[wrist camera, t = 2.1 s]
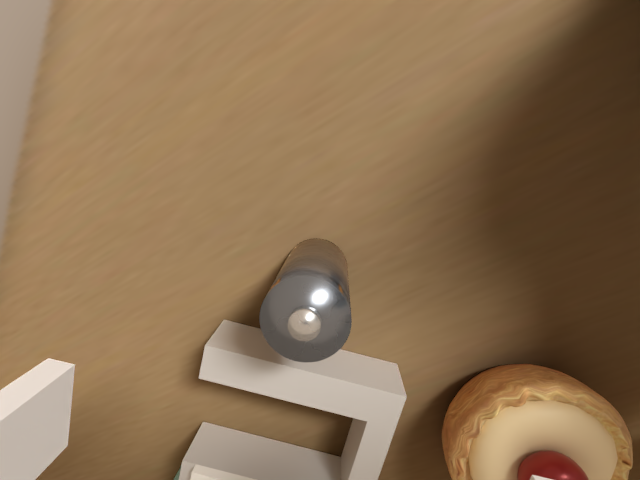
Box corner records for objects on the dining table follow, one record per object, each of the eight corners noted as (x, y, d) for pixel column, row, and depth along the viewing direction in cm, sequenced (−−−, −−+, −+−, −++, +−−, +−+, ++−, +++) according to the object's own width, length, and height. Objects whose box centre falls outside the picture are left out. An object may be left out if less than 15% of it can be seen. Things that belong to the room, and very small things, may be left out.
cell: (293, 231, 26) (267, 269, 16) (354, 247, 26) (363, 294, 16) (279, 288, 27) (248, 356, 17) (338, 304, 27) (338, 379, 17)
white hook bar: (223, 319, 28) (198, 353, 23) (397, 363, 28) (409, 407, 23) (197, 446, 30) (170, 502, 25) (355, 487, 30) (359, 551, 25)
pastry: (487, 321, 27) (558, 388, 18) (616, 393, 28) (746, 493, 19) (405, 439, 29) (433, 550, 20) (526, 504, 30) (605, 641, 21)
